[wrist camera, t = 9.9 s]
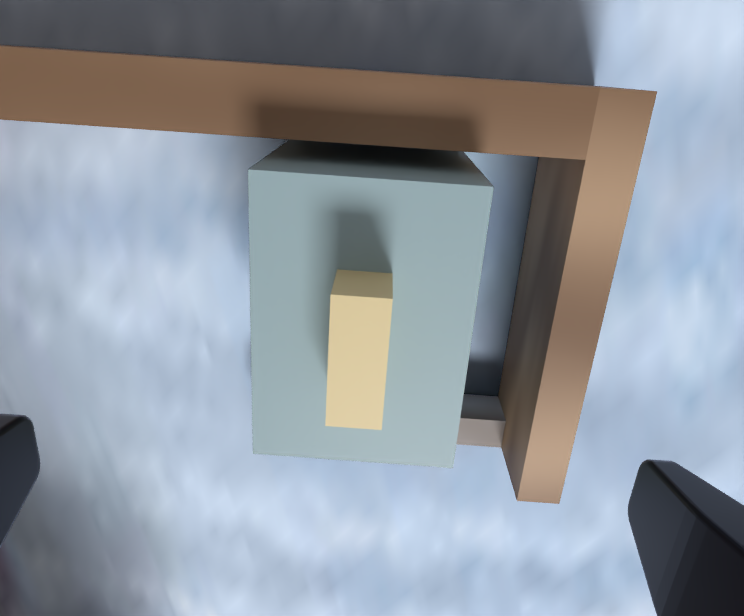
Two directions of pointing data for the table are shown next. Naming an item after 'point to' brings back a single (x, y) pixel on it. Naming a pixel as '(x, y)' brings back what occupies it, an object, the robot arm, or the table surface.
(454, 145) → the cleat board
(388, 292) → the cabinet
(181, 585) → the table surface
